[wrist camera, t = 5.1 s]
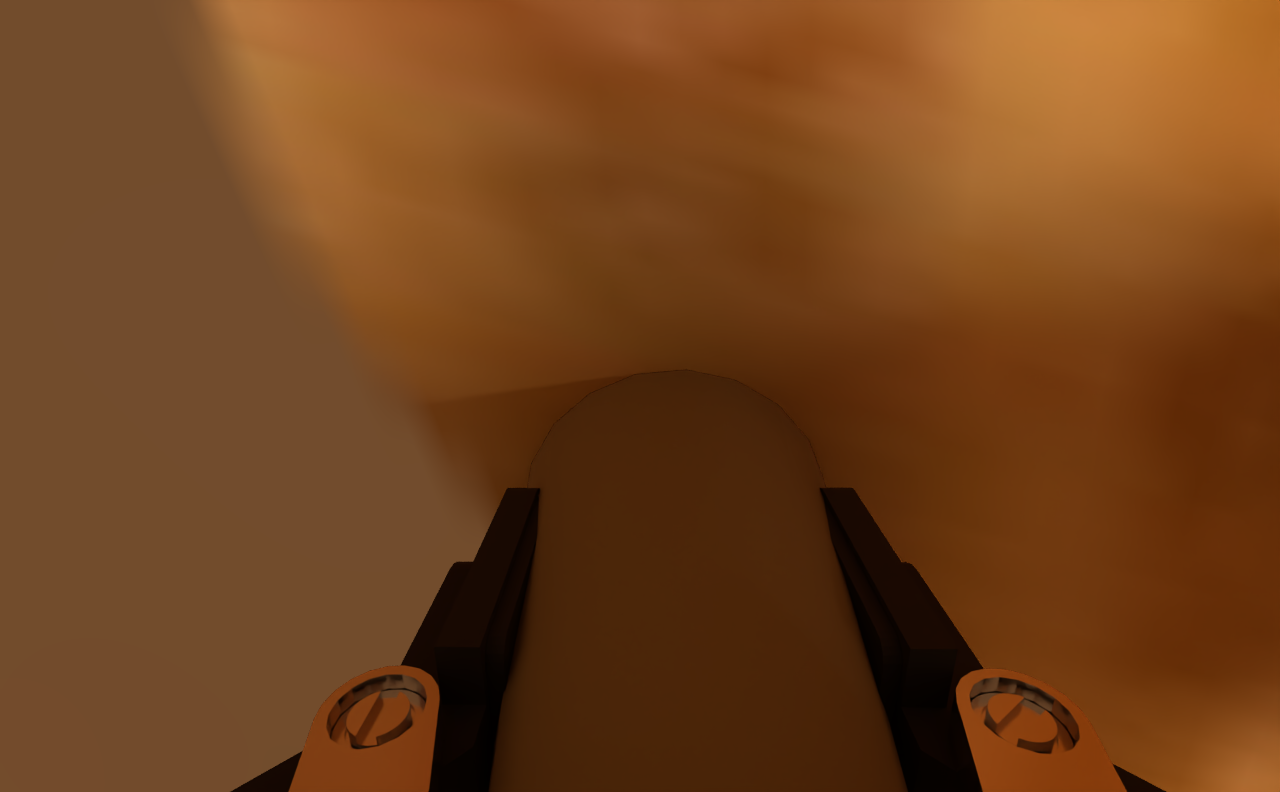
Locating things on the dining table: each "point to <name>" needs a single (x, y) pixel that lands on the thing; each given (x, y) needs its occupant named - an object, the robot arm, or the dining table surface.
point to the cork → (687, 608)
